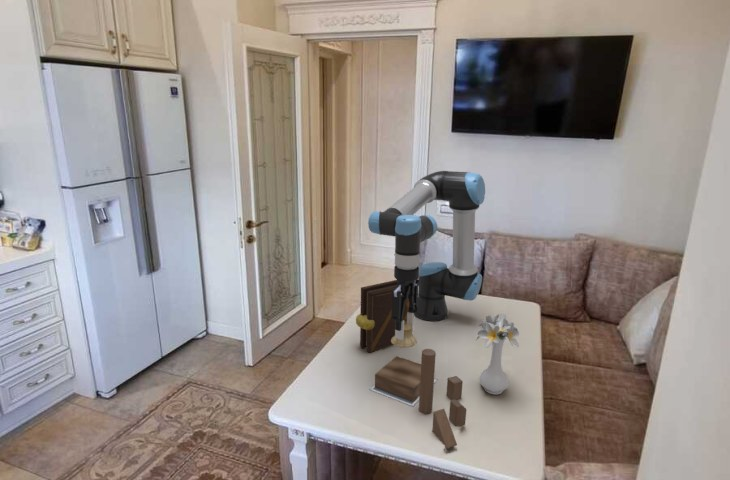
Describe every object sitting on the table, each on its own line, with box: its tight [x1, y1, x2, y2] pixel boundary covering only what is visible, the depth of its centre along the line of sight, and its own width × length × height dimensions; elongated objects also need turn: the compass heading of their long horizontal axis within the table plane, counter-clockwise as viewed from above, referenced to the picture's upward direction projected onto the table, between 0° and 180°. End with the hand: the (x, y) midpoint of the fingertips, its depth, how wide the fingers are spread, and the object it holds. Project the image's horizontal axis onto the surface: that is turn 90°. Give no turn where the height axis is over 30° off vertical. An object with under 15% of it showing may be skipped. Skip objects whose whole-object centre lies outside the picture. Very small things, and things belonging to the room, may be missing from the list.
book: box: [355, 279, 402, 355], centre depth 170 cm, size 22×8×25 cm, turn 123°
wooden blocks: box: [418, 348, 467, 450], centre depth 129 cm, size 17×20×20 cm
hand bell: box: [391, 296, 418, 348], centre depth 141 cm, size 8×8×16 cm
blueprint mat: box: [368, 378, 438, 408], centre depth 147 cm, size 18×16×1 cm
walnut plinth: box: [374, 355, 421, 402], centre depth 146 cm, size 14×14×5 cm
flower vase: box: [475, 312, 520, 396], centre depth 144 cm, size 13×18×25 cm
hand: (404, 334), depth 143 cm, fingers closed on hand bell, 6 cm apart
